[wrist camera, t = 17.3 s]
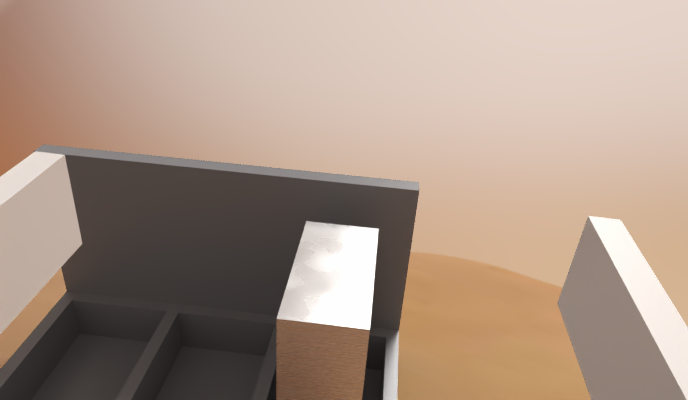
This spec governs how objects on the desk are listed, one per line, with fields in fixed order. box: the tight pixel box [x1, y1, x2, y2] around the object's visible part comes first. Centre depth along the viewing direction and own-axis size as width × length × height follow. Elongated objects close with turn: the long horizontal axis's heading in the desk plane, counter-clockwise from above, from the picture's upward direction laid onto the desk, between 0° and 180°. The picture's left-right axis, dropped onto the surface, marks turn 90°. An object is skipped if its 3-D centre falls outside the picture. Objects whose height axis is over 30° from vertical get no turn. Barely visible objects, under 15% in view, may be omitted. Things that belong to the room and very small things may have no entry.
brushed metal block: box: [276, 221, 379, 400], centre depth 30 cm, size 4×8×12 cm, turn 174°
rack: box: [0, 145, 419, 400], centre depth 30 cm, size 23×14×14 cm, turn 84°
